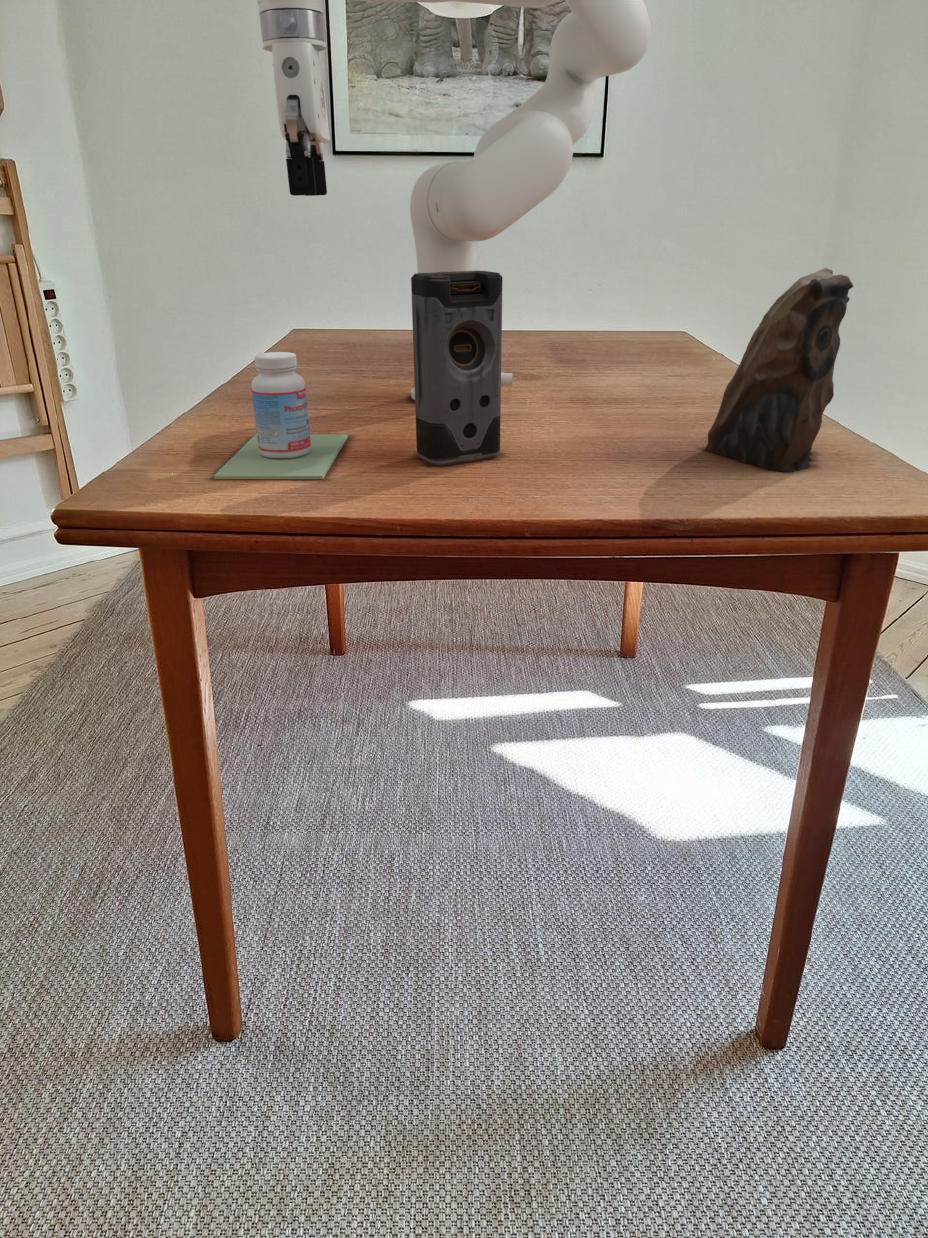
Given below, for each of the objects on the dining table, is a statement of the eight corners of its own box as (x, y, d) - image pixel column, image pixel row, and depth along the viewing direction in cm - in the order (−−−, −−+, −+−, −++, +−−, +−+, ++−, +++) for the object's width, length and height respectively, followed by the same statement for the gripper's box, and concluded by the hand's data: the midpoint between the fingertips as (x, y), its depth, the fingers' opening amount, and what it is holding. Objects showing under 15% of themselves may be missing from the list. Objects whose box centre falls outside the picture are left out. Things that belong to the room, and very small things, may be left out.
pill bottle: (300, 461, 93) (290, 360, 88) (250, 458, 94) (237, 358, 89) (319, 447, 98) (310, 351, 93) (272, 445, 100) (261, 349, 94)
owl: (789, 439, 102) (820, 266, 92) (861, 467, 91) (903, 273, 82) (700, 448, 98) (723, 269, 89) (763, 478, 88) (796, 277, 78)
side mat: (348, 437, 104) (347, 434, 104) (323, 479, 88) (322, 475, 88) (255, 437, 105) (255, 434, 104) (213, 479, 89) (213, 475, 88)
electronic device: (433, 468, 92) (429, 276, 83) (412, 455, 96) (405, 273, 87) (505, 457, 95) (508, 273, 86) (481, 445, 100) (481, 269, 91)
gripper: (313, 19, 89) (329, 194, 97) (334, 45, 105) (346, 194, 113) (245, 20, 89) (266, 195, 97) (276, 46, 105) (292, 196, 113)
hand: (309, 195), depth 105 cm, fingers open, 9 cm apart
